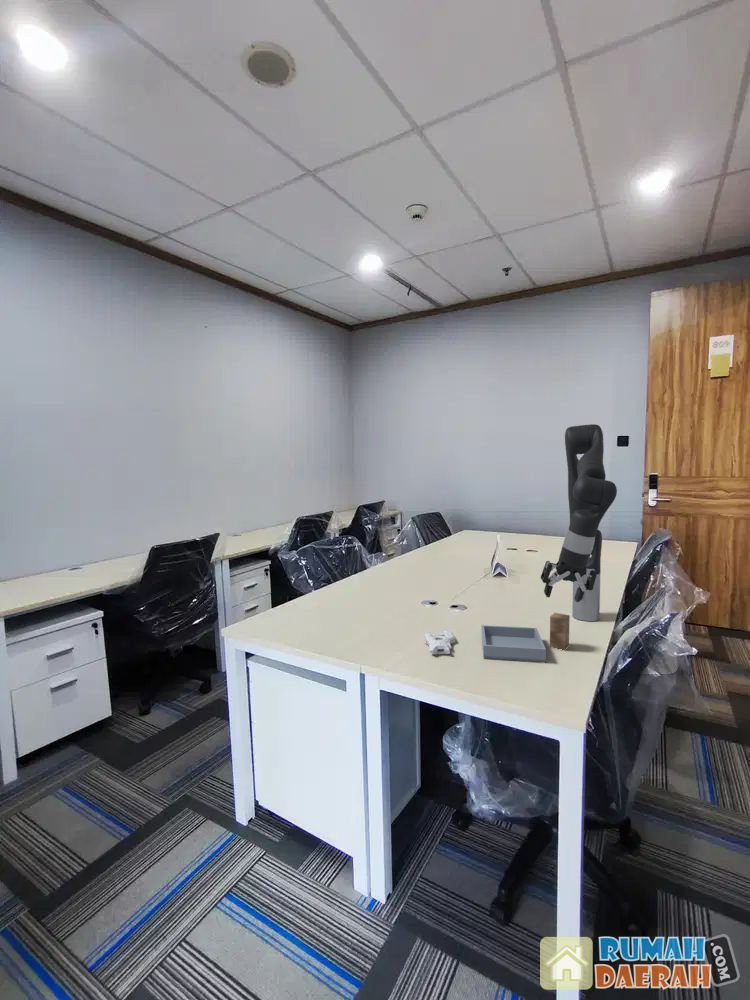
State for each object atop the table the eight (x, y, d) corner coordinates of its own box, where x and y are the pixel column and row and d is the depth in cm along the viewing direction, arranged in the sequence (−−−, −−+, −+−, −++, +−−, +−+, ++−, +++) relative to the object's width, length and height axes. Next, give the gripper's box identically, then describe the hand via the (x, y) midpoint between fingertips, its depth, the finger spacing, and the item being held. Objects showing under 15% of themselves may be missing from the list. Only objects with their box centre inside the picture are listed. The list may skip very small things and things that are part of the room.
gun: (462, 645, 138) (429, 646, 138) (462, 656, 138) (429, 658, 138) (450, 627, 156) (421, 628, 156) (451, 637, 156) (421, 638, 156)
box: (481, 636, 154) (481, 625, 153) (536, 639, 150) (536, 627, 150) (483, 658, 136) (483, 645, 136) (545, 662, 133) (545, 649, 133)
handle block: (549, 647, 144) (550, 616, 143) (554, 642, 147) (554, 612, 147) (564, 650, 141) (565, 619, 140) (569, 646, 145) (569, 615, 144)
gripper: (597, 546, 131) (581, 596, 136) (547, 538, 131) (533, 588, 136) (608, 557, 124) (591, 609, 129) (555, 548, 124) (540, 601, 129)
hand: (561, 598), depth 132 cm, fingers open, 8 cm apart
